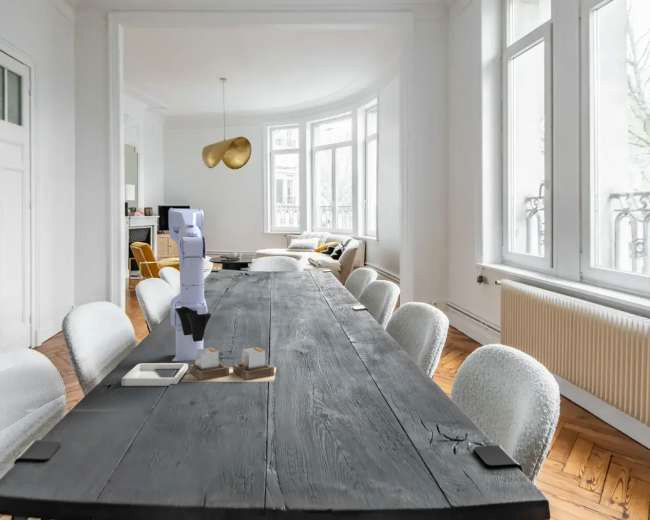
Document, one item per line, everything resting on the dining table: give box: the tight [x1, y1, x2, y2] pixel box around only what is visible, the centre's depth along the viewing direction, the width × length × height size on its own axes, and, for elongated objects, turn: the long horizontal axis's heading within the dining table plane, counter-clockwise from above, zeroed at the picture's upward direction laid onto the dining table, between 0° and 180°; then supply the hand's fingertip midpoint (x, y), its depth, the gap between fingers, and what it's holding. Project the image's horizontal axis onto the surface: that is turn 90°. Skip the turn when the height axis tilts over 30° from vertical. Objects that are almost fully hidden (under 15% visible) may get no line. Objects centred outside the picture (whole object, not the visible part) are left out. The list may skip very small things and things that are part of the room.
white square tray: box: [120, 362, 189, 387], centre depth 122 cm, size 13×13×2 cm
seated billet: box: [241, 346, 266, 371], centre depth 124 cm, size 4×4×6 cm
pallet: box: [180, 360, 277, 383], centre depth 124 cm, size 12×22×3 cm, turn 93°
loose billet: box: [194, 347, 220, 371], centre depth 123 cm, size 4×4×6 cm
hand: (192, 337), depth 126 cm, fingers open, 7 cm apart
